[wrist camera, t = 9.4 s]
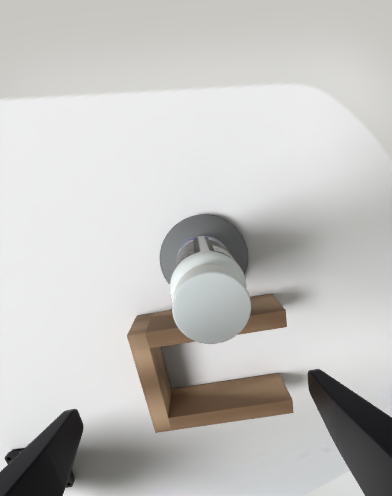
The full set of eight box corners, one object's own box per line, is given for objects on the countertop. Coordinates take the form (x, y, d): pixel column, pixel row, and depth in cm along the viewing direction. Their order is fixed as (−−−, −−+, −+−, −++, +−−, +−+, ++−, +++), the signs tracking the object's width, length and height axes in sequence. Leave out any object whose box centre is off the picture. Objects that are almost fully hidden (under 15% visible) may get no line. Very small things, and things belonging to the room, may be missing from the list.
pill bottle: (182, 288, 18) (172, 357, 10) (172, 239, 17) (153, 273, 9) (232, 280, 18) (263, 344, 10) (226, 230, 17) (255, 257, 9)
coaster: (250, 289, 19) (252, 292, 19) (170, 302, 19) (169, 306, 19) (240, 207, 17) (242, 207, 17) (152, 223, 18) (150, 223, 17)
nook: (280, 384, 22) (293, 412, 19) (160, 402, 22) (155, 432, 19) (271, 293, 19) (285, 310, 16) (136, 315, 20) (126, 335, 17)
